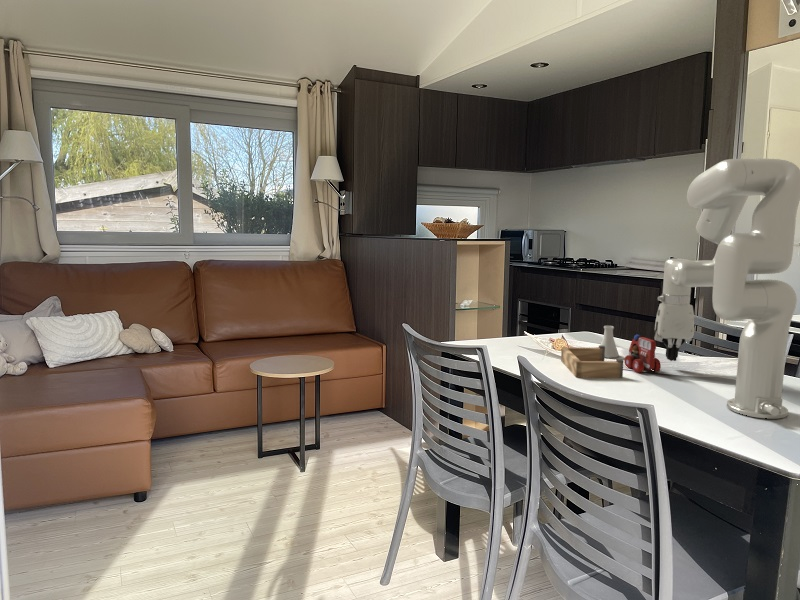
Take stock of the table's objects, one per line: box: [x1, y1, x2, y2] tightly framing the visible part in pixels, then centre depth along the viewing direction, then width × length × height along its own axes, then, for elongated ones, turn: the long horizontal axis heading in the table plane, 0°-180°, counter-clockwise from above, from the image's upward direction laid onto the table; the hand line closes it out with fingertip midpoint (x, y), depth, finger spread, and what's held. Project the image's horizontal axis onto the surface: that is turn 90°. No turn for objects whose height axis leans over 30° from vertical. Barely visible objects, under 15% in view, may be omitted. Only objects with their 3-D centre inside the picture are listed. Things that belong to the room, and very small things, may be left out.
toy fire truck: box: [623, 334, 661, 374], centre depth 177 cm, size 7×12×10 cm, turn 7°
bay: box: [560, 345, 624, 379], centre depth 178 cm, size 19×13×5 cm
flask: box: [600, 325, 620, 359], centre depth 194 cm, size 7×7×10 cm
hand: (671, 359), depth 177 cm, fingers closed
